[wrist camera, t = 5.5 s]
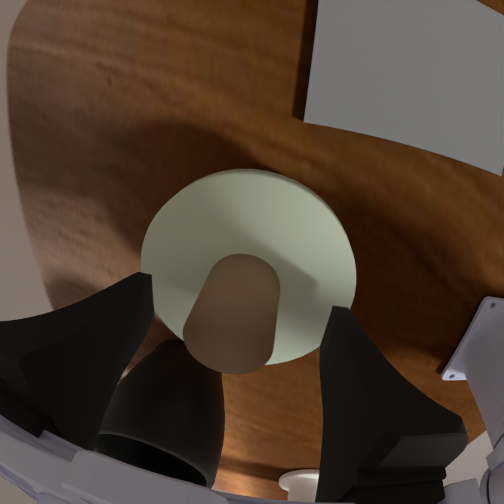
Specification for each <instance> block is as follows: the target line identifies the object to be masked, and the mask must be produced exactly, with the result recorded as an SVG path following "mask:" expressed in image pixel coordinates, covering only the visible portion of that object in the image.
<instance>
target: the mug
mask: <svg viewBox="0 0 504 504" xmlns="http://www.w3.org/2000/svg"><path fill="white" fill-rule="evenodd" d="M224 430H225V410H224V395H223V385H222V372H218V371H215V370H213V369H210V368H208V367H206V366H205V365H203V364H201V363H200V362H199V361H197V360H196V359H195V358H194V357H193V356H192V355H191V354H190V352H189V351H188V349H187V347H186V346H185V343H184V341H183V340H168V341H165V342H163V343H161V344H159V345H158V346H157V347H156V349H154V350H153V351H152V352H151V353H150V354H148V355H147V356H146V357H145V358H144V359H142V360H141V361H140V362H139V363H138V364H137V365H136V366H135V367H134V368H133V369H132V370H131V371H130V372H129V373H128V374H127V375H126V376H125V377H124V378H123V379H122V380H121V382H120V383H119V384H118V385H117V386H116V388H115V391H114V393H113V395H112V398H111V400H110V403H109V405H108V408H107V411H106V413H105V416H104V419H103V422H102V425H101V428H100V431H99V434H98V438H97V441H96V445H95V449H94V452H96V453H100V454H103V455H105V456H108V457H111V458H113V459H116V460H118V461H121V462H124V463H127V464H129V465H132V466H135V467H138V468H141V469H144V470H147V471H151V472H154V473H157V474H160V475H164V476H167V477H171V478H175V479H178V480H182V481H186V482H190V483H193V484H196V485H200V486H203V487H206V488H210V489H211V488H212V486H213V484H214V482H215V477H216V473H217V469H218V465H219V461H220V456H221V452H222V447H223V440H224Z"/></svg>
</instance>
